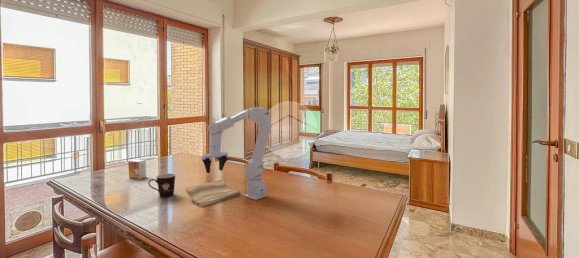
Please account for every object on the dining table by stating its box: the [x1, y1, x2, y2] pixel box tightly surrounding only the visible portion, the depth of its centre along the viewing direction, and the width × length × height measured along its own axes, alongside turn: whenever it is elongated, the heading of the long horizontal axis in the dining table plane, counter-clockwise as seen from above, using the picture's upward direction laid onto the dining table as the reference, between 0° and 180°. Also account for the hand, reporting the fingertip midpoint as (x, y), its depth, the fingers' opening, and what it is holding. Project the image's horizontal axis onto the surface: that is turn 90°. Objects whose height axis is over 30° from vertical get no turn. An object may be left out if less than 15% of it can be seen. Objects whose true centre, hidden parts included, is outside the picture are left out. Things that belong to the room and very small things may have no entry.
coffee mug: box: [147, 173, 176, 198], centre depth 145 cm, size 12×9×10 cm
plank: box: [185, 179, 230, 201], centre depth 145 cm, size 8×20×2 cm
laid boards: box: [192, 188, 242, 208], centre depth 140 cm, size 7×22×2 cm, turn 137°
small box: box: [128, 159, 147, 180], centre depth 179 cm, size 8×6×10 cm
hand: (214, 171), depth 151 cm, fingers open, 7 cm apart
